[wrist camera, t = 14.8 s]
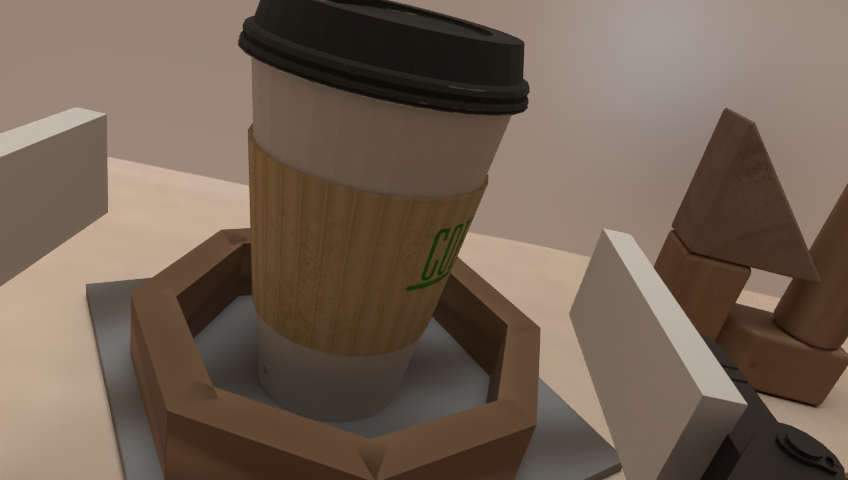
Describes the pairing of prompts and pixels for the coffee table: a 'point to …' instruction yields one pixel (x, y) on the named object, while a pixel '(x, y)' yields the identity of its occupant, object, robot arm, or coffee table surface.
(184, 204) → the coffee table surface
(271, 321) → the coffee cup
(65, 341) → the coffee table surface
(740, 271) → the wooden block
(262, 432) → the cup collar
